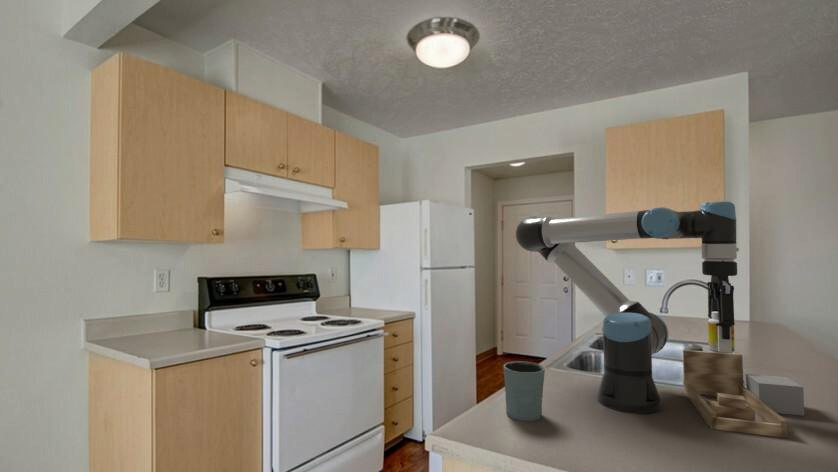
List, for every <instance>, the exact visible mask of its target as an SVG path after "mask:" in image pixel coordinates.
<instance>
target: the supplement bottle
mask: <svg viewBox="0 0 838 472" xmlns="http://www.w3.org/2000/svg"><path fill="white" fill-rule="evenodd" d="M711 316H712V319H710V318H708V321H707V331H708V334H707V335H708V336H707V337H708V339H707V340H708V342H707V343H708V349H709V351H710V352H717V353H726V354H730V353H731V352H719V351H718V326H716V323H719V317H718V311H714V312H712V315H711ZM731 337H732V353H734V352H735V324H734V325H732V327H731Z"/></svg>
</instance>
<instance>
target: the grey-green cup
mask: <svg viewBox="0 0 838 472" xmlns="http://www.w3.org/2000/svg"><path fill="white" fill-rule="evenodd" d="M545 371H546V369H545V367H544V366H543V365H542V364H540V363H535V362H530V361H508V362H506V363H504V364H503V375H504V391H505V409H506V410H505V412H506V415H507V417H509V418H511V419H513V420H516V421H520V422H521V421H522V422H534V421H538V420H540V419H542V415H543V414H542V411H543V404H542V403H543V396H544V395H543V391H544V381H545Z"/></svg>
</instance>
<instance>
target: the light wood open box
mask: <svg viewBox="0 0 838 472" xmlns="http://www.w3.org/2000/svg"><path fill="white" fill-rule="evenodd" d="M743 363H744V362H743V354H742V353H734V352H733V353H730V354H726V353H717V352H713V351H703V350H702V351H701V350H690V349H689V350H688V349H682V365H683V367H682V368H683V369H682V370H683V372H682V373H683V392H684V391H685V392H684V393H686V394H687V395H686V394H685V395H686V397H687V398H688V397H689V398H688V399H689V401H690V402H691V403H692V405H693V406H694V407H695V408H696V410H697V412H698V413H699V414H700V415H701V417H702V418H703V419H704V421H705V422H706V423H707V425H708V427H709V428H710V429H713V430H720V431H727V432H728V431H729V432H736V433H737V432H738V433H744V434H753V435H760V436H768V437H769V436H770V437H778V438H785V439H788V421H787V420H786V419H784V418H783V417H782V416H781V415H780V414H779V413H776V412H775V411H773V410H772V409H771V408H770V407H768V406H767V405H766V404H765V403H764V402H762V401H761V400H760V399H759V398H758V397H756V396H755V395H754V394H753V393H751V392H750V391H749V390H748V389H747V388H746V387H745V386H744V365H743ZM717 393H722V394H730V395H738V396H743V397H744V398H745V400H746V404H747V405H749V406H750V407H751V408H753V409H754V410H755V415H757V416H759V418H760V419H761V420H762V421H758V420H755V421H750V420H741V419H732V418H723V417H716V413H715V412H714V411H713V410H712V408H711V407H710V406H709V404H708V402H707V401H706V400H705V399H704V397H703V395H700V394H706V395H705V396H710V395H714V396H713V397H717Z"/></svg>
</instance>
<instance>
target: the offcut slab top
mask: <svg viewBox="0 0 838 472" xmlns="http://www.w3.org/2000/svg"><path fill="white" fill-rule="evenodd" d="M708 402H709V404H708V405H709V406H710V407H711V408H712V410H713V411H714V412H715V413H716V417H723V418H732V419H741V420H750V421H756V413H755V410H754V409H753V408H751V407H750V406H749V405H747V404H746V409H742V408H735V407H728V406H721V405H719V404H718V401H717V400H709V401H708Z"/></svg>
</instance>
